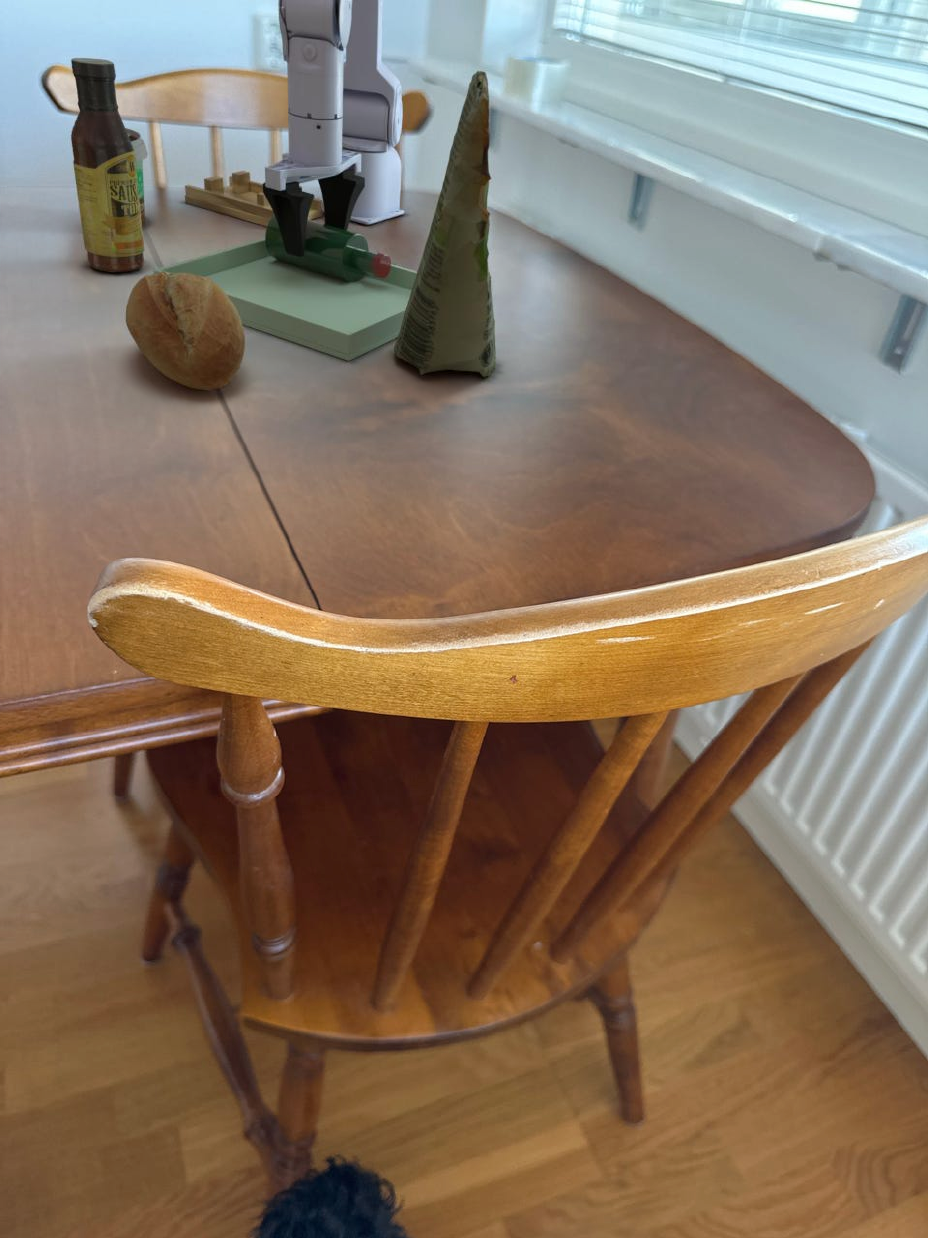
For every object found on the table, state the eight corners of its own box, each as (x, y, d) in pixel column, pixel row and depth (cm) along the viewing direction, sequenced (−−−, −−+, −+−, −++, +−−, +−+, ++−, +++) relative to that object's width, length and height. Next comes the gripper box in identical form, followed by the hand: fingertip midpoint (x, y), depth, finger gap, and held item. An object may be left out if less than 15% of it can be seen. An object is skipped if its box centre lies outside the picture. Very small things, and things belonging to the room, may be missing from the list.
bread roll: (155, 408, 74) (143, 313, 70) (116, 341, 84) (104, 253, 79) (266, 395, 79) (263, 304, 74) (217, 332, 89) (211, 249, 84)
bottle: (291, 257, 108) (295, 211, 106) (394, 288, 103) (400, 241, 101) (263, 260, 104) (266, 212, 102) (369, 292, 99) (374, 243, 97)
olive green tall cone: (449, 332, 95) (476, 58, 80) (530, 373, 89) (576, 83, 73) (367, 352, 88) (378, 57, 73) (448, 397, 82) (478, 85, 67)
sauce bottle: (129, 278, 98) (102, 67, 86) (76, 269, 98) (42, 58, 86) (157, 262, 103) (136, 61, 91) (106, 253, 104) (78, 52, 91)
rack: (234, 191, 130) (233, 165, 128) (322, 216, 125) (322, 189, 123) (184, 202, 123) (182, 175, 121) (276, 229, 118) (275, 200, 116)
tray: (284, 254, 110) (283, 232, 108) (459, 307, 101) (461, 284, 100) (155, 294, 95) (152, 269, 93) (348, 361, 86) (349, 334, 85)
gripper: (326, 101, 101) (326, 228, 109) (239, 113, 91) (246, 251, 99) (378, 113, 99) (373, 241, 107) (294, 126, 88) (296, 267, 97)
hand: (315, 247), depth 103 cm, fingers open, 7 cm apart
